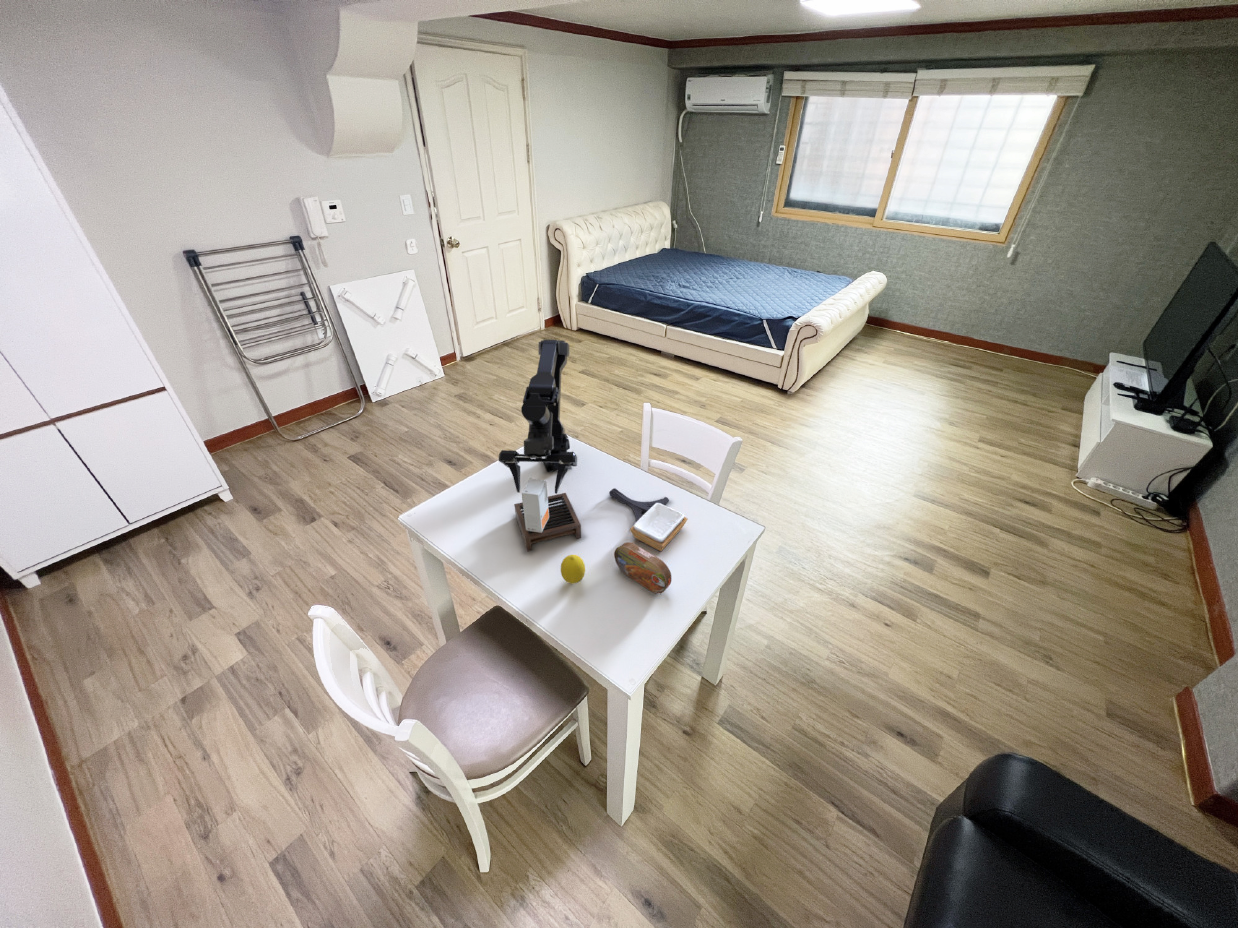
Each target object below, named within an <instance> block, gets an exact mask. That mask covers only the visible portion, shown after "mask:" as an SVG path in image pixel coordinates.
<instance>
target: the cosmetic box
mask: <svg viewBox="0 0 1238 928" xmlns="http://www.w3.org/2000/svg"><path fill="white" fill-rule="evenodd" d="M547 484H548V483H547V480H545V479H540V478H539V479H537V478H532V477H531V478H530V479H529V480H528V481H527V483H526V484H525V486H524V488H523V489H522V491H521V501H522V502H523V509H522V510H524V512H523V513H524V518H525V526H526V530H527V531H533V532H539V533H542V531H543V529H544V527H545V525H546V523H547V521H548V519H549V509H548V507H549V506H548V504H549V503H548V497H549V496H548V485H547Z"/></svg>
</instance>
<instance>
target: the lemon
mask: <svg viewBox="0 0 1238 928" xmlns="http://www.w3.org/2000/svg"><path fill="white" fill-rule="evenodd" d="M560 574H561V577H562V579H563V580H564V581H565V582H566V583H568V584H572V585H573V584H577V583H579V582H581V581H582V580H583V578H584V577H585V574H586V565H585V562H584V560H583V559H582V557H581V556H579V555H577V554H568V555H567V556H565V557H564V558H563V560H562V562H561V563H560Z"/></svg>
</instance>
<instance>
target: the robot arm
mask: <svg viewBox="0 0 1238 928" xmlns="http://www.w3.org/2000/svg"><path fill="white" fill-rule="evenodd" d="M538 356H539V360H538V365H537V370H536V374H535V375H532V377H531V378H530V380H529V383H528V385H527V386H526V388H525V392H524V396H523V399H522V405H521V408H520V409H521V415H522V416H523V418H524V419H525V421H527V423H528V432H527V438H525V439H524V440H523V454H522V453H519V452H518V451H517V450H511V449H510V450H507V449H502V450H501V451H499V454H498V462H499V463H501V464H503V466H505V467H506V468H508V469H509V470H510V473H511V475H512V478H513V483H514V486H515V489H516V492H517V493H519V494H520V492H521V465H519V463H520V462H525V463H542V464H543V465H544V466H543V467H544V469H545V470H546V471H545V472H546V473H551V472H555V471H556V475H555V484H554V495H557V494H558V491H559V489H560V487H561V484H562V483H563V480H564V477H565V476H566V474H567V473H568V471H569V470H572V469H573V467H577V466H578V455H577V454H576V453H575V452H574V451H569V450H570V449H571V445H570V444H571V443H570V439H569V436H568V434H567V433H566V429H565V427H564V425H563V424H562V422H561V396H562V395H561V394H562V393H561V392H562V372H563V370H564V368H565V366H566V365H567V364H568V358H569V357H570V344H569V343H568V342H566V340H564V339H562V340H560V339H548V338H547V339H542V340H540V341H538Z"/></svg>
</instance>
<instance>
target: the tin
mask: <svg viewBox="0 0 1238 928" xmlns="http://www.w3.org/2000/svg"><path fill="white" fill-rule="evenodd" d="M613 553H614V554H613V557H614V561H615V563H616V565H617V567H618V569H619V570H620V571H621V572H622V573H623V574H624V575H625V576H627V577H628V578H630V579H631V580H633V581H634V582H636V583H638V584H639V585H640V586H642V587H643V588H645V589H647V590H648V591H650V592H651V593H654V594H662V593H664V592H665V591H666V590H667V589H668V588H669V586H670V585H671V584H672V573H671V570H670V568H669V567H668V565H667V564H666V563H665V562H664V561H663V559H660V558H659V557H658V556H656V555H654V554H653V553H651V552H649V551H647V550H646V549H644V548H642V547H641V546H639V545H637V544H636V543H634V542H629V541H627V542H624V543H622V544H621V545H619V546H618V547H616V549H615V550H614V552H613Z"/></svg>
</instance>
